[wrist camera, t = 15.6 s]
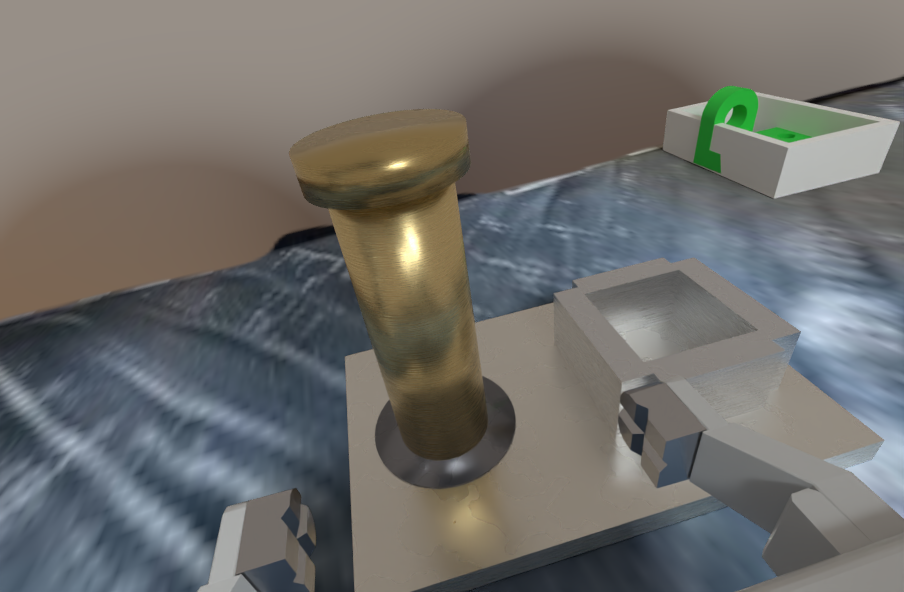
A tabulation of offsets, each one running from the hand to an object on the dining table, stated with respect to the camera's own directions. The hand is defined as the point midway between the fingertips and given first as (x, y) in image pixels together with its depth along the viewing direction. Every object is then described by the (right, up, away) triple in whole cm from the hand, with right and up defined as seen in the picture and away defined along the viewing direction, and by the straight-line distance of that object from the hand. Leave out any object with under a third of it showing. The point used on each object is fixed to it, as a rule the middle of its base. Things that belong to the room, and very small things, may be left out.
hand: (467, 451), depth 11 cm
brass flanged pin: (-1, -3, +14) cm, 15 cm away
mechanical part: (+35, +20, +41) cm, 57 cm away
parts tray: (+35, +20, +41) cm, 57 cm away
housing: (+6, -3, +16) cm, 17 cm away
